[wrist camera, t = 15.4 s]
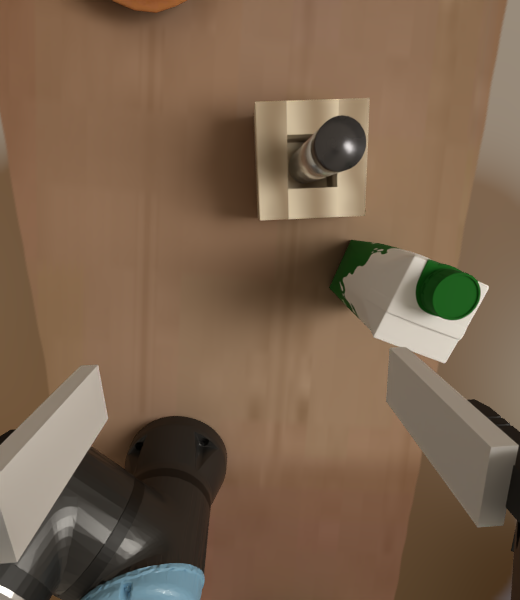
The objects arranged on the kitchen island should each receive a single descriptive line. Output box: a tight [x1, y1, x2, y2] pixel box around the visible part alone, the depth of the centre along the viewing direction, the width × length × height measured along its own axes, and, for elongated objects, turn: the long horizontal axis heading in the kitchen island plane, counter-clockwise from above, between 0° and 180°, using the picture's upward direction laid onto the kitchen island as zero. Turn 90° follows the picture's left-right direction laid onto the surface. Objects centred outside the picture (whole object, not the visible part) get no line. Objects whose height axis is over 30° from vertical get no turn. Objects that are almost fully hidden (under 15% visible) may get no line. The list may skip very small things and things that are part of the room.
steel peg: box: [289, 115, 366, 184], centre depth 34 cm, size 4×4×16 cm
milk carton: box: [329, 240, 489, 363], centre depth 37 cm, size 9×9×20 cm
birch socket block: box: [254, 98, 370, 220], centre depth 40 cm, size 12×12×6 cm
